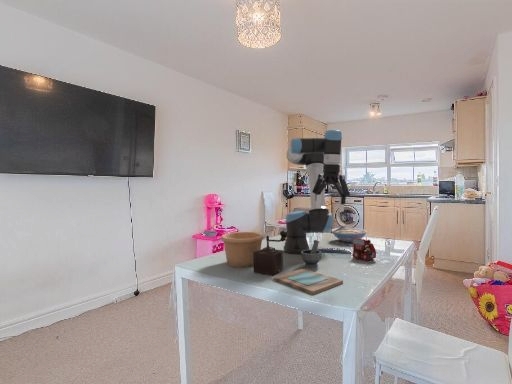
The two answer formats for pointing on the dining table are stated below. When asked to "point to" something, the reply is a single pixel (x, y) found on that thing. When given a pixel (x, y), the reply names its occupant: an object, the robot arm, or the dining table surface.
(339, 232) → the ramen bowl
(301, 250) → the robot arm
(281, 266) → the manual coffee grinder
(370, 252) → the toy fire truck
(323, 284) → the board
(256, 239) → the pottery
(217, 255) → the dining table surface
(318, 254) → the mortar and pestle
